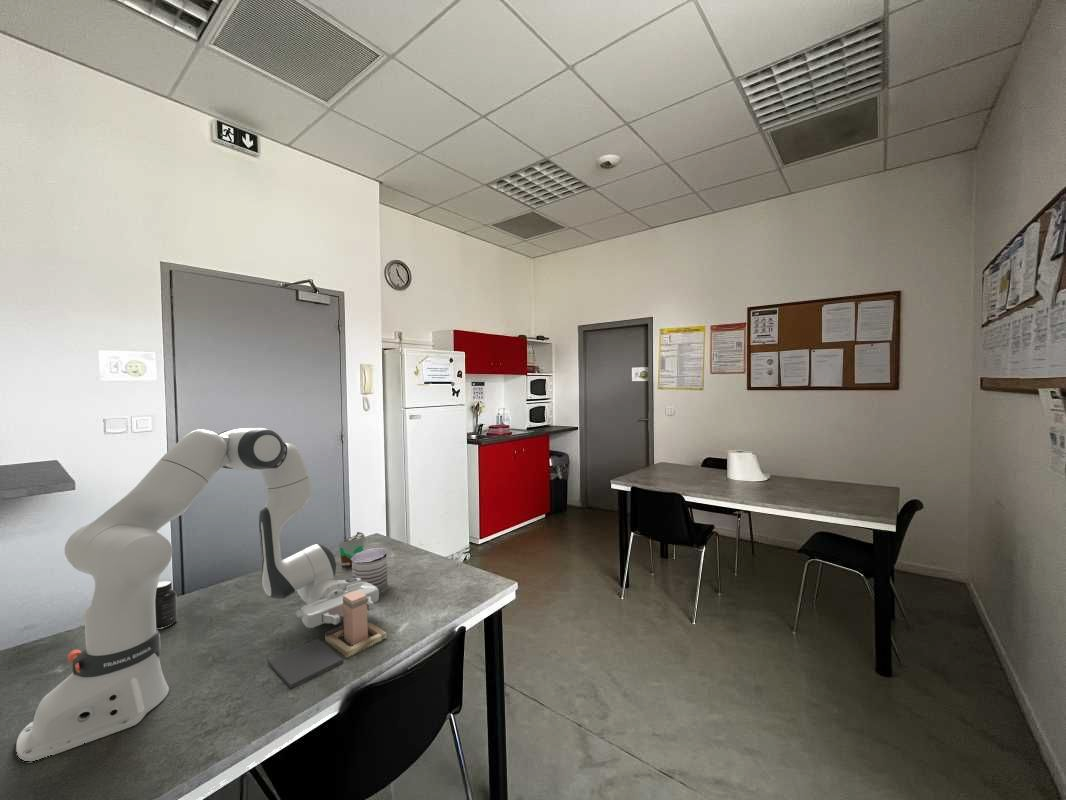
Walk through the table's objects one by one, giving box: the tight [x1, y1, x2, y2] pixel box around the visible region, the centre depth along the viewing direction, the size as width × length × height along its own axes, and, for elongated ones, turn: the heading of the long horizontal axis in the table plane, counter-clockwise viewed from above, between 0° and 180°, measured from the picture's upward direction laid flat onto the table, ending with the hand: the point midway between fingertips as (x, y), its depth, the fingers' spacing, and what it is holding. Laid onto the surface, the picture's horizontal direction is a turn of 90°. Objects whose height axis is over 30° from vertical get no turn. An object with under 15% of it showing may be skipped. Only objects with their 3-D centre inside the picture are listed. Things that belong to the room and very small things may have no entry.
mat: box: [267, 638, 344, 689], centre depth 109 cm, size 12×14×1 cm
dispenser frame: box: [324, 619, 388, 658], centre depth 119 cm, size 11×12×2 cm
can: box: [351, 547, 389, 594], centre depth 149 cm, size 11×11×12 cm
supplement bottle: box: [155, 580, 178, 628], centre depth 128 cm, size 7×7×12 cm
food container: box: [338, 531, 366, 568], centre depth 171 cm, size 12×6×10 cm, turn 168°
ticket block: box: [343, 590, 369, 646], centre depth 119 cm, size 4×5×12 cm
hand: (355, 613), depth 119 cm, fingers open, 8 cm apart
